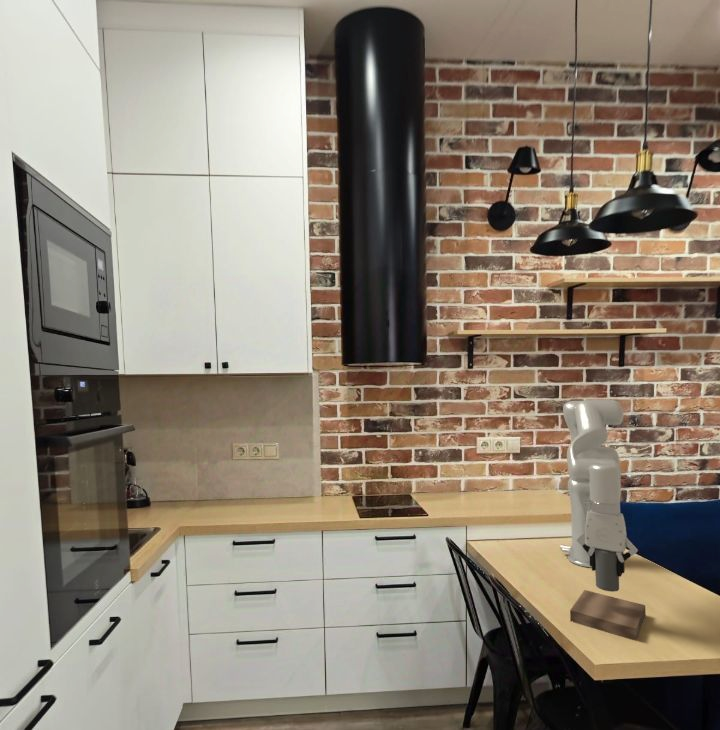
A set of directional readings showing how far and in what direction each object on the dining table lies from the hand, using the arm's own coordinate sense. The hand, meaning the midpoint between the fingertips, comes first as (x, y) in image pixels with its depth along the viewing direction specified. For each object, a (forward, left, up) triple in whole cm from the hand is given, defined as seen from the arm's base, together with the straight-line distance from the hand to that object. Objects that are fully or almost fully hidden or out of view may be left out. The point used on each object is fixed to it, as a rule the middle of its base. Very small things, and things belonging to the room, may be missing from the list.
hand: (607, 571), depth 131 cm
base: (0, 0, -13) cm, 13 cm away
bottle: (0, 0, -5) cm, 5 cm away
